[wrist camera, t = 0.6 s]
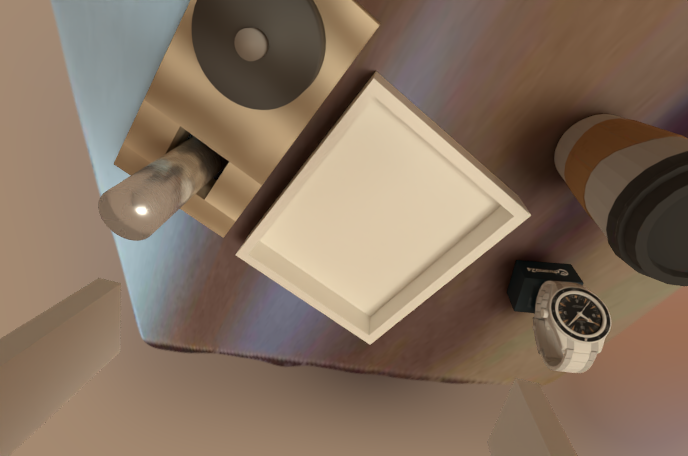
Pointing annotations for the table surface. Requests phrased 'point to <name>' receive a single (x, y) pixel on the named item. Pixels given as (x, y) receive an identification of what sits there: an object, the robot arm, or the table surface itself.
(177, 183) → the lock pin
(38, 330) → the robot arm
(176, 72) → the tensioner plate
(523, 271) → the watch
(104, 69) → the table surface
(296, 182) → the tray
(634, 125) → the coffee cup
